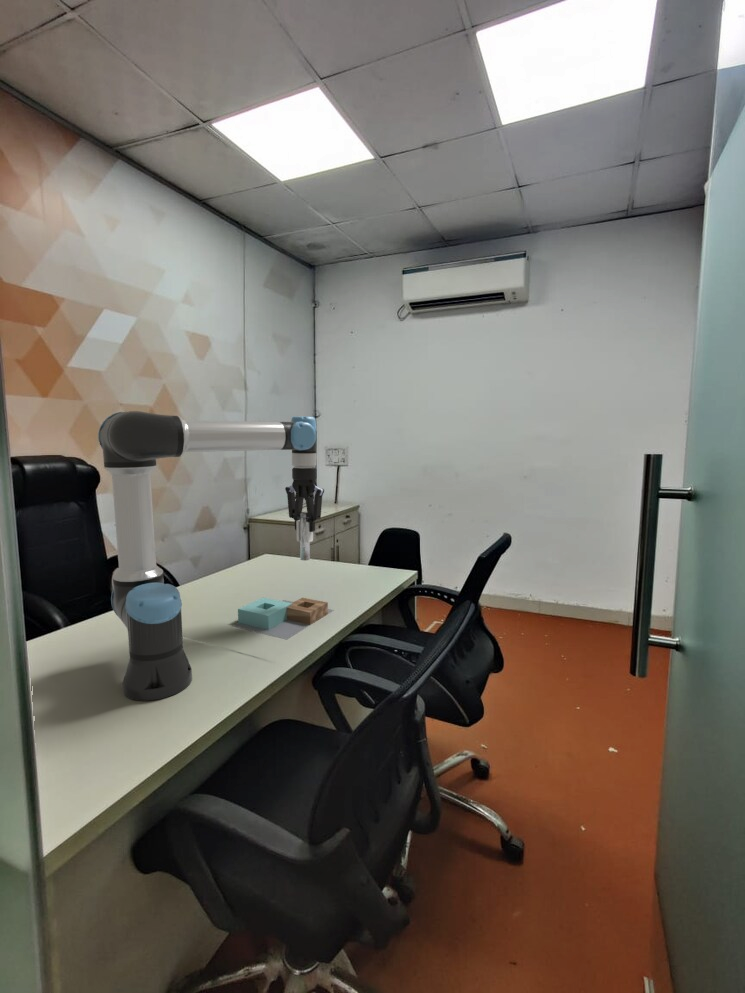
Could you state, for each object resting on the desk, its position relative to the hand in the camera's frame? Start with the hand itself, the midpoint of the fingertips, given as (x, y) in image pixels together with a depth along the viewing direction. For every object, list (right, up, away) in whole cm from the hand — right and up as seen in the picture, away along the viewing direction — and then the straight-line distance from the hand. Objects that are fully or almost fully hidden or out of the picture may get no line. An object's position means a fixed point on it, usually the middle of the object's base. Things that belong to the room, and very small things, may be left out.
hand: (304, 540), depth 153 cm
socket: (-13, -25, +1) cm, 28 cm away
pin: (0, -6, +1) cm, 6 cm away
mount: (0, -25, +3) cm, 25 cm away
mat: (-7, -25, +2) cm, 27 cm away
